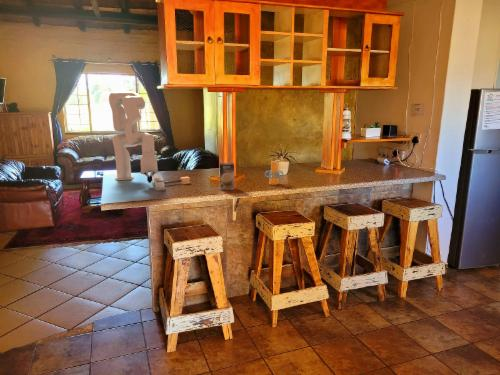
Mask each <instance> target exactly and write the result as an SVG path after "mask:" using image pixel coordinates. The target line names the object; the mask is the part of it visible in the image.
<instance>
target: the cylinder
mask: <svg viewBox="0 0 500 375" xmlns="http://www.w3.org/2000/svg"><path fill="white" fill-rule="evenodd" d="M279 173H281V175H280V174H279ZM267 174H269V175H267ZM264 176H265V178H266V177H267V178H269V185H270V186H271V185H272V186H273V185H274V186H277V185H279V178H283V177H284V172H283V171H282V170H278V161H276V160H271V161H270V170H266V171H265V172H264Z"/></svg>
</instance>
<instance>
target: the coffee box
mask: <svg viewBox="0 0 500 375" xmlns="http://www.w3.org/2000/svg"><path fill="white" fill-rule="evenodd" d="M233 190H234V191H235V163H234V162H219V191H233Z"/></svg>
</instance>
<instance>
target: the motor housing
mask: <svg viewBox="0 0 500 375" xmlns="http://www.w3.org/2000/svg"><path fill="white" fill-rule="evenodd" d="M152 182H155V190H156V191H165V189H166V188H165V187H166V186H165V185H166V184H164V182H165V179H164V178H163V176H162V174H154V175H153V176H152Z"/></svg>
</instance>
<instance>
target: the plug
mask: <svg viewBox="0 0 500 375" xmlns="http://www.w3.org/2000/svg"><path fill="white" fill-rule="evenodd" d="M190 179H191V177H189V176H181V177H180V179H177V180H169V181H168V180H166V181H165V180H164V185H167V184H168V185H169V184H176V183H177V184H178V183H180V184H181V185H187V184H190V183H191V180H190ZM151 183H152V184H151V185H152V187H153V188H155V182H153V181H151ZM155 189H156V188H155Z"/></svg>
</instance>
